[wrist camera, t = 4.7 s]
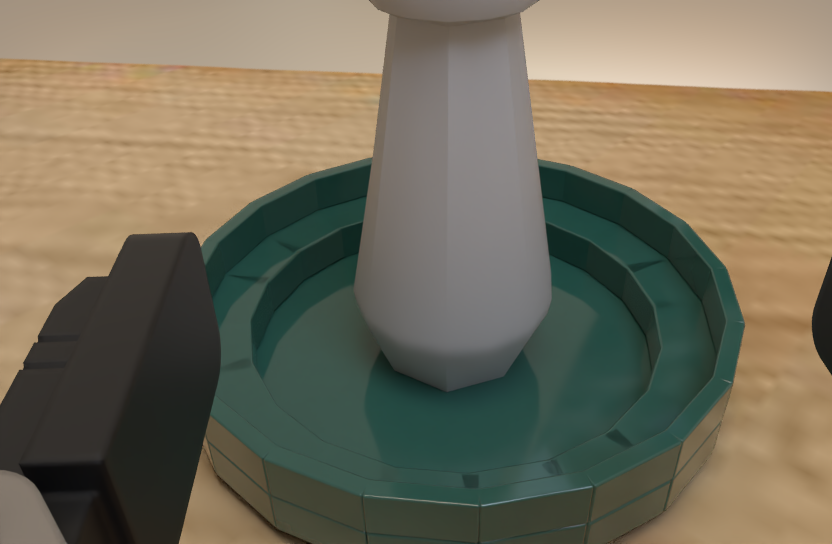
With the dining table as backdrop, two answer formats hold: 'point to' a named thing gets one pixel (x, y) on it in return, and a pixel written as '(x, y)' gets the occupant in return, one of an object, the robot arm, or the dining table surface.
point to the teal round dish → (477, 404)
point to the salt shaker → (454, 195)
